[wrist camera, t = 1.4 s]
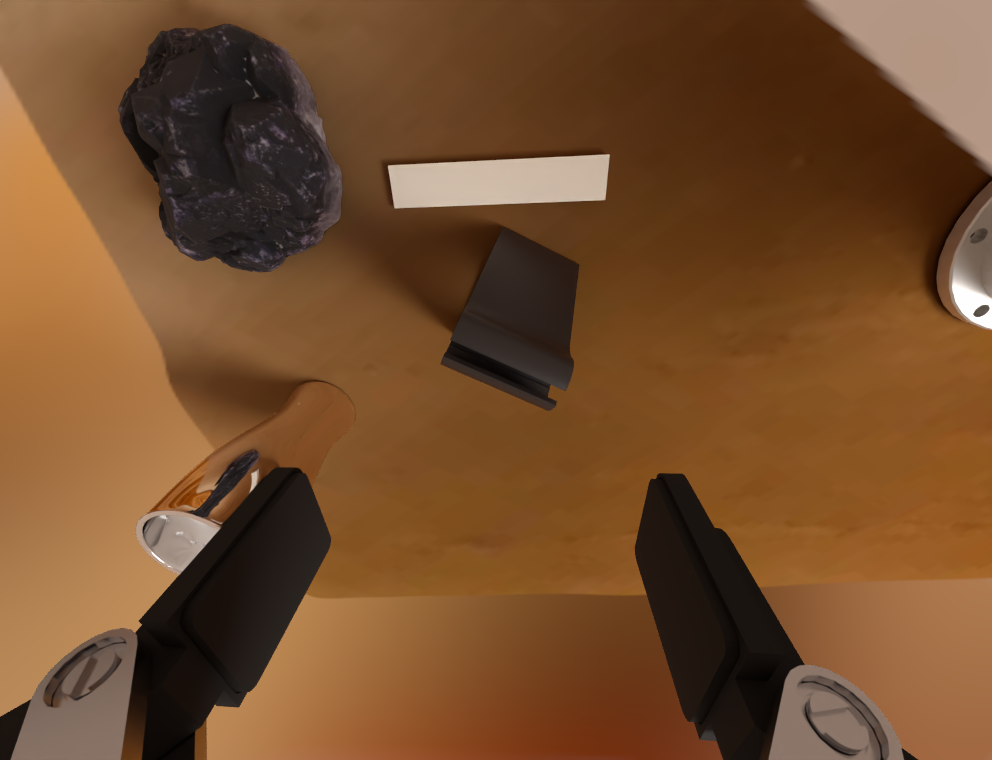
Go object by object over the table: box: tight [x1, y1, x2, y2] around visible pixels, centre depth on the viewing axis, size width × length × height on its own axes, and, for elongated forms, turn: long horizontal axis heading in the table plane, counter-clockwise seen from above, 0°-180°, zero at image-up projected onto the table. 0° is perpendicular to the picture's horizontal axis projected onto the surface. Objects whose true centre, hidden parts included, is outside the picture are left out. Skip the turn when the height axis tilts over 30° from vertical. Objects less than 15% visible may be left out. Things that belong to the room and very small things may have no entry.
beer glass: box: [136, 381, 356, 575], centre depth 27 cm, size 7×7×15 cm
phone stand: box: [441, 227, 579, 411], centre depth 22 cm, size 9×6×12 cm, turn 155°
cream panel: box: [388, 154, 610, 208], centre depth 23 cm, size 14×2×1 cm, turn 92°
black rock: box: [118, 24, 343, 272], centre depth 21 cm, size 13×14×10 cm
